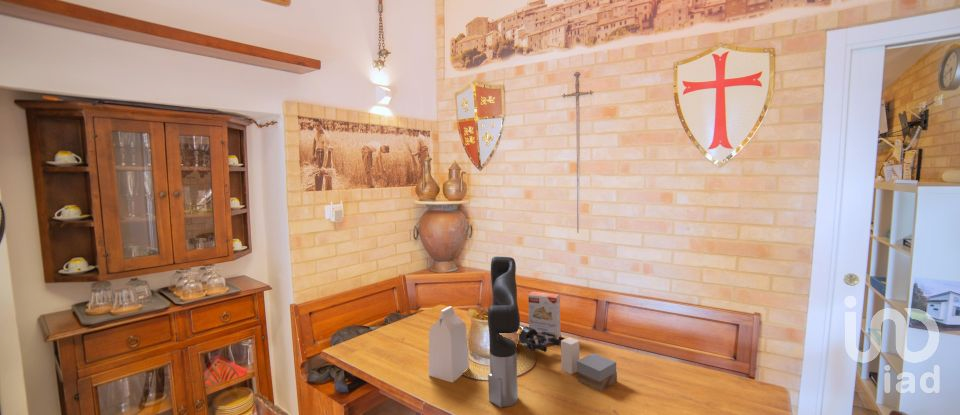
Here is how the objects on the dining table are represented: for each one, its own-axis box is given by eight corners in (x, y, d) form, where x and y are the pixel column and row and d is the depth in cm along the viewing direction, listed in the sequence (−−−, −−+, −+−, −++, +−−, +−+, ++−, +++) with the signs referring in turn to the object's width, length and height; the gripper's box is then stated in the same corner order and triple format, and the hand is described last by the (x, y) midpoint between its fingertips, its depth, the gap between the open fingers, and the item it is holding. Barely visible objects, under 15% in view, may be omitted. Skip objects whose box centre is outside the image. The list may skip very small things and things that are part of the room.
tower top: (600, 381, 138) (599, 371, 138) (577, 371, 146) (576, 361, 145) (616, 372, 144) (616, 362, 144) (593, 362, 152) (593, 352, 152)
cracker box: (528, 336, 187) (527, 294, 186) (533, 332, 192) (532, 290, 191) (557, 341, 181) (556, 297, 179) (560, 336, 186) (560, 293, 184)
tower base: (601, 392, 138) (601, 382, 138) (577, 382, 146) (577, 371, 146) (616, 382, 144) (616, 372, 144) (593, 372, 152) (593, 363, 152)
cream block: (571, 374, 151) (571, 344, 150) (561, 369, 155) (560, 340, 154) (579, 370, 154) (579, 340, 153) (569, 365, 158) (568, 337, 157)
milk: (446, 362, 164) (443, 302, 162) (469, 368, 158) (467, 306, 156) (428, 375, 154) (425, 311, 152) (452, 382, 148) (449, 315, 146)
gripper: (512, 331, 168) (541, 342, 155) (535, 322, 177) (563, 332, 164) (513, 347, 168) (541, 360, 156) (535, 338, 177) (564, 349, 165)
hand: (553, 346), depth 160 cm, fingers open, 8 cm apart
